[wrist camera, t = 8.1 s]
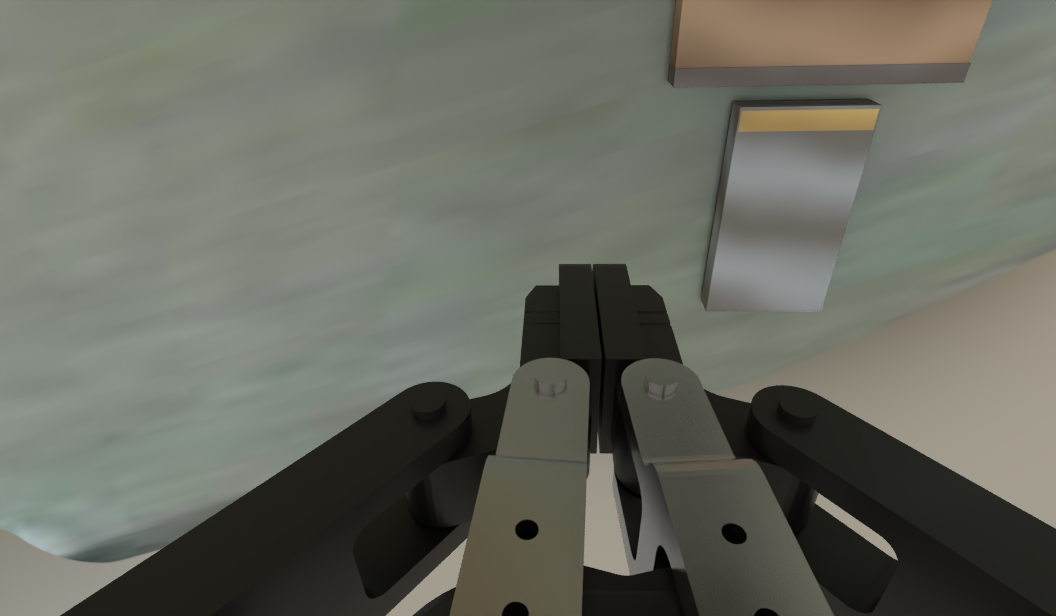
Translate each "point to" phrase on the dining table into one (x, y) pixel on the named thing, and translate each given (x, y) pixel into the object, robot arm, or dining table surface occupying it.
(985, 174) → the dining table surface
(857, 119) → the grey flat plate
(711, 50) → the laid floor board
